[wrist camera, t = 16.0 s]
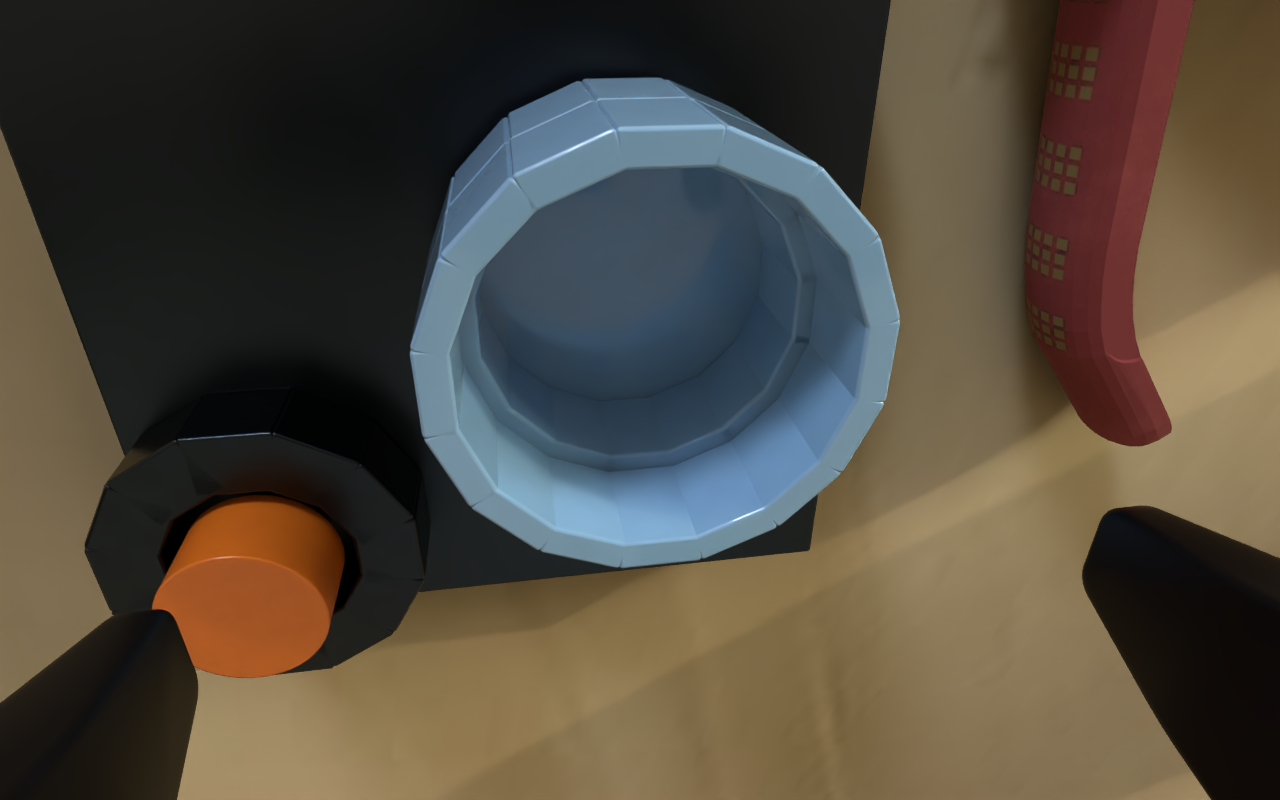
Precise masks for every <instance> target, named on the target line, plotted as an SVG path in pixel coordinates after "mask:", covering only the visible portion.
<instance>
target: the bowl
mask: <svg viewBox="0 0 1280 800" xmlns="http://www.w3.org/2000/svg"><path fill="white" fill-rule="evenodd" d="M899 319H900V314H899V310H898V306H897V302H896V298H895V294H894V290H893V286H892V282H891V277H890V273H889V269H888V265H887V261H886V257H885V253H884V249H883V245H882V241H881V238H880V237H879V236H878V232H877V231H876V229H875V228H874V227H873V226H872V225H871V223H870V222H869V221H868V220H867V219H866V218H865V216H864V215H863V214H862V213H861V212H860V210H859V209H858V208H857V207H856V206H855V205H854V203H853V202H852V201H851V200H850V199H849V197H848V196H847V195H846V194H845V193H844V192H843V190H842V189H841V188H840V187H839V186H838V184H837V183H836V182H835V181H834V180H833V179H832V177H831V176H830V175H829V174H828V173H827V171H826V170H825V169H824V168H823V167H821V166H820V165H818V164H817V163H816V162H815V161H813V160H812V159H810V158H809V157H807V156H806V155H804V154H802V153H801V152H799V151H798V150H796V149H795V148H793V147H792V146H790V145H789V144H787V143H786V142H784V141H783V140H781V139H780V138H778V137H777V136H775V135H773V134H772V133H770V132H769V131H767V130H765V129H764V128H762V127H761V126H759V125H758V124H756V123H755V122H753V121H752V120H750V119H749V118H747V117H746V116H744V115H743V114H741V113H739V112H738V111H736V110H735V109H733V108H732V107H730V106H727V105H725V104H723V103H720V102H718V101H716V100H714V99H711V98H709V97H707V96H705V95H702V94H700V93H698V92H695V91H693V90H691V89H689V88H686V87H684V86H682V85H680V84H677V83H675V82H673V81H670V80H664V79H662V78H603V79H584V80H582V82H581V81H576V82H574V83H572V84H570V85H568V86H566V87H563V88H561V89H559V90H557V91H555V92H553V93H551V94H548V95H546V96H544V97H542V98H540V99H538V100H536V101H533V102H531V103H529V104H527V105H525V106H523V107H521V108H518V109H516V110H514V111H512V112H510V113H509V114H508V118H506V117H505V118H503V119H501V120H500V122H499V123H498V124H497V125H496V126H495V127H494V128H493V130H492V131H491V132H490V133H489V134H488V135H487V136H486V138H485V139H484V140H483V141H482V142H481V143H480V145H479V146H478V147H477V148H476V149H475V150H474V151H473V153H472V154H471V155H470V156H469V157H468V158H467V159H466V161H465V162H464V163H463V164H462V165H461V166H460V167H459V169H458V170H457V171H456V172H455V175H454V177H452V178H451V180H450V184H449V187H448V190H447V194H446V197H445V200H444V203H443V207H442V210H441V213H440V217H439V220H438V223H437V226H436V230H435V233H434V236H433V240H432V243H431V246H430V251H429V256H428V261H427V266H426V270H425V275H424V280H423V285H422V290H421V295H420V300H419V305H418V310H417V314H416V319H415V324H414V329H413V334H412V339H411V344H410V348H411V349H410V354H409V355H410V361H411V368H412V374H413V381H414V387H415V394H416V400H417V407H418V413H419V419H420V426H421V432H422V435H423V437H424V440H425V442H426V444H427V445H428V447H429V448H430V450H431V451H432V453H433V454H434V456H435V457H436V458H437V460H438V461H439V463H440V464H441V466H442V467H443V469H444V470H445V472H446V473H447V475H448V476H449V477H450V479H451V480H452V482H453V483H454V485H455V486H456V488H457V489H458V491H459V492H460V494H461V495H462V496H463V498H464V499H465V501H466V502H467V504H468V505H469V506H471V507H472V509H473V510H474V511H476V512H478V513H479V514H481V515H482V516H484V517H486V518H487V519H489V520H490V521H492V522H493V523H495V524H497V525H498V526H500V527H501V528H503V529H505V530H506V531H508V532H509V533H511V534H512V535H514V536H516V537H517V538H519V539H520V540H522V541H524V542H525V543H527V544H528V545H530V546H531V547H533V548H535V549H536V550H541V551H542V552H544V553H549V554H554V555H558V556H563V557H568V558H572V559H577V560H582V561H586V562H591V563H596V564H601V565H605V566H610V567H615V568H618V567H619V566H620V568H630V567H639V566H649V565H658V564H667V563H677V562H686V561H696V560H700V558H707V557H709V556H711V555H714V554H716V553H719V552H721V551H723V550H726V549H728V548H730V547H733V546H735V545H737V544H740V543H742V542H744V541H747V540H749V539H752V538H754V537H756V536H759V535H761V534H763V533H766V532H768V531H770V530H773V529H775V528H776V525H778V526H779V525H781V524H783V523H784V522H785V521H786V520H787V519H788V518H790V517H791V516H792V515H793V514H794V513H796V512H797V511H798V510H799V509H800V508H802V507H803V506H804V505H805V504H806V503H807V502H809V501H810V500H811V499H812V498H813V497H815V496H816V495H817V494H818V493H819V492H821V491H822V490H823V489H824V488H825V487H827V486H828V485H829V484H830V483H831V482H832V481H834V480H835V479H836V478H837V477H838V476H839V475H840V472H843V471H844V469H845V468H846V466H847V464H848V463H849V461H850V460H851V458H852V456H853V455H854V453H855V451H856V450H857V448H858V446H859V445H860V443H861V442H862V440H863V438H864V437H865V435H866V433H867V432H868V430H869V429H870V427H871V425H872V424H873V422H874V420H875V419H876V417H877V415H878V414H879V412H880V411H881V409H882V407H883V405H884V402H883V401H885V400H886V397H887V391H888V386H889V381H890V375H891V370H892V364H893V359H894V354H895V348H896V343H897V337H898V332H899V327H900V321H899Z"/></svg>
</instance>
